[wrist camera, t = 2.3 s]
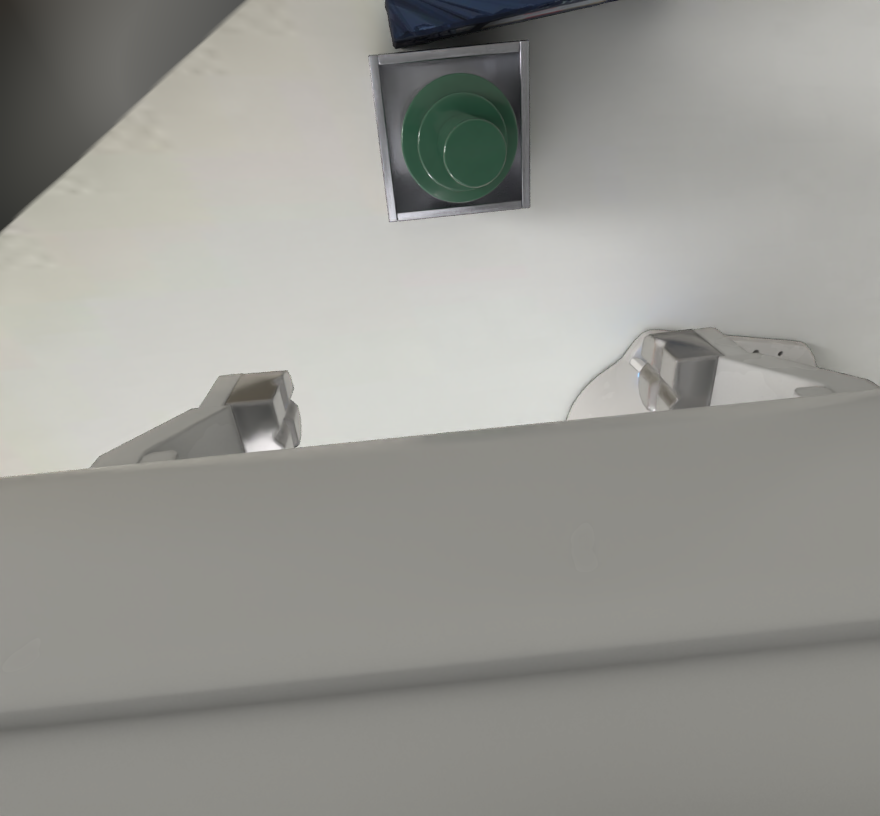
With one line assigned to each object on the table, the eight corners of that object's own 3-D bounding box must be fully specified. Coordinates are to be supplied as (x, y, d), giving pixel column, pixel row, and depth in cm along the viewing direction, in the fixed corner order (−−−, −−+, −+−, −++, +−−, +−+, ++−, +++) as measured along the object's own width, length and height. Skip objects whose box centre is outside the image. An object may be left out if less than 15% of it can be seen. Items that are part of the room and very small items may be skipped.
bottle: (486, 72, 37) (548, 60, 22) (490, 171, 40) (547, 222, 25) (394, 81, 37) (392, 76, 22) (405, 179, 40) (410, 235, 24)
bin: (502, 49, 37) (529, 39, 29) (506, 186, 41) (530, 208, 33) (374, 62, 37) (367, 55, 29) (390, 198, 41) (389, 222, 33)
